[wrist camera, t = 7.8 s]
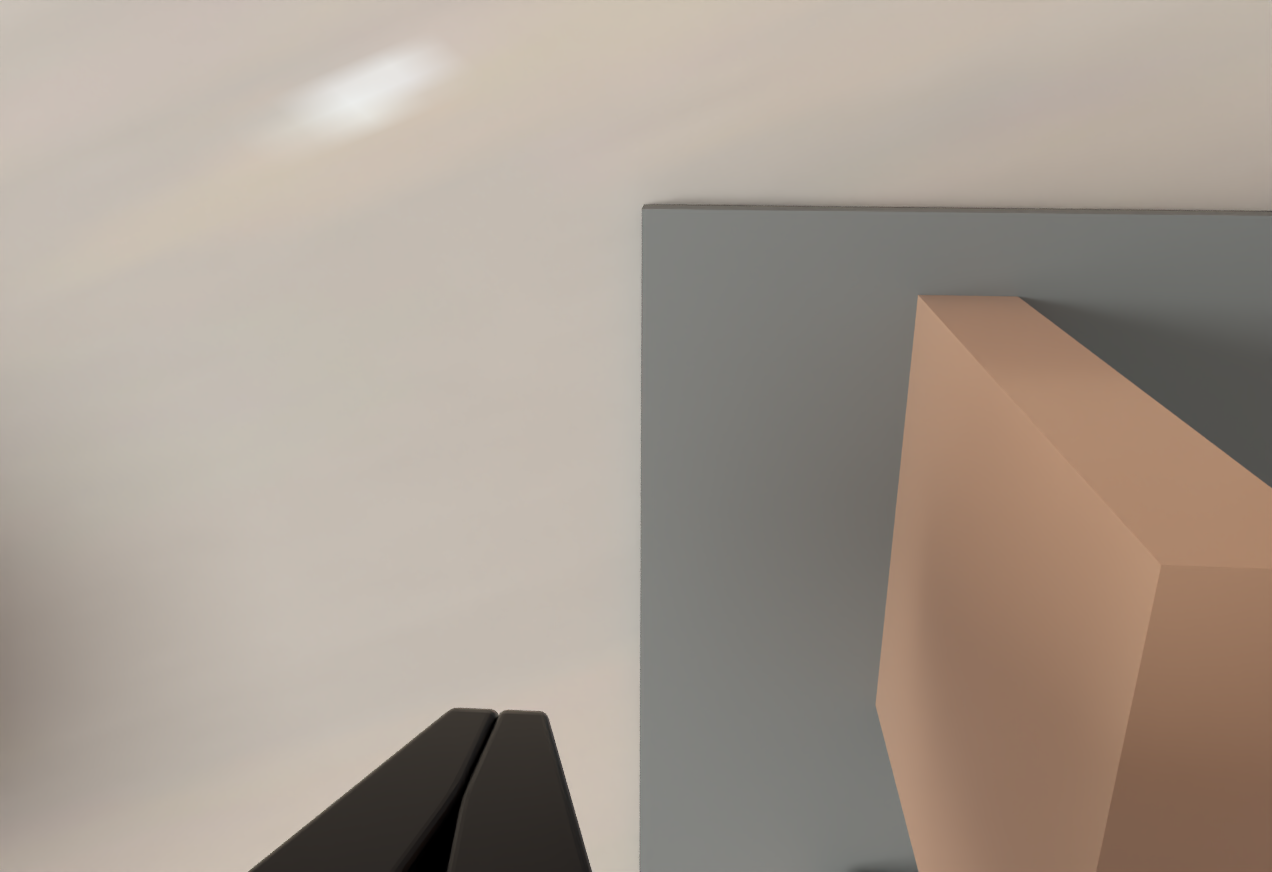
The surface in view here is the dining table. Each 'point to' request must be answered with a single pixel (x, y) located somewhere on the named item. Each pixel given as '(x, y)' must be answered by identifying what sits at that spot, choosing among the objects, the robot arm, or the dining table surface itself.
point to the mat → (858, 477)
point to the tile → (1071, 615)
